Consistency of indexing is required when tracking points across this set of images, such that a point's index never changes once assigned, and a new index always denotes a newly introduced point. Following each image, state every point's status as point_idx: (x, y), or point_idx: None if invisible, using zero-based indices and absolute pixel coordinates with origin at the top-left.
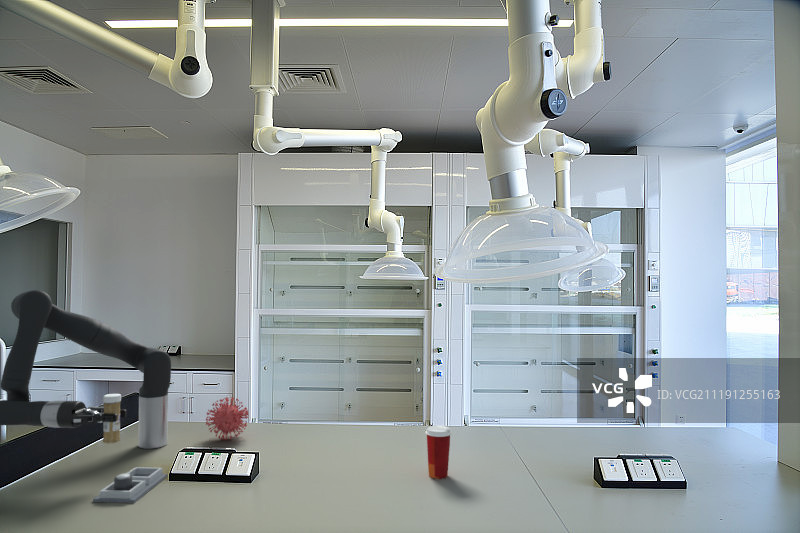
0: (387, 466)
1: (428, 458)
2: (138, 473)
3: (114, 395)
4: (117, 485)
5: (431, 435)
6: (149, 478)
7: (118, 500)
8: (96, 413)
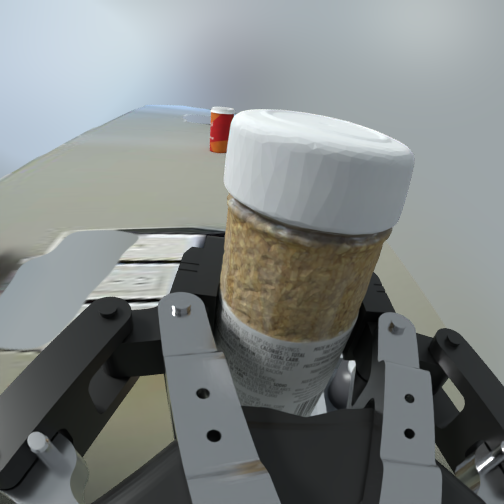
0: (186, 161)
1: (222, 136)
2: None
3: (342, 122)
4: None
5: (232, 113)
6: None
7: None
8: (411, 357)
